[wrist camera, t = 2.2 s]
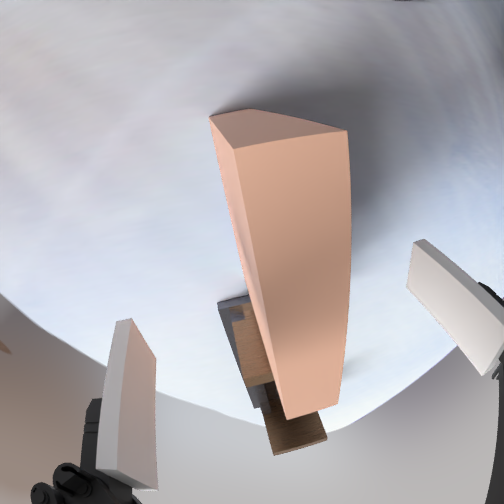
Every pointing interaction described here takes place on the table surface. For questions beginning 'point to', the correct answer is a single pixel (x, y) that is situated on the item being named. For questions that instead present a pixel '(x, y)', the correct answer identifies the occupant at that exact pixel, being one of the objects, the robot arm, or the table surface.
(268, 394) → the door track
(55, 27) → the table surface
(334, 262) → the door panel
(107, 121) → the table surface
